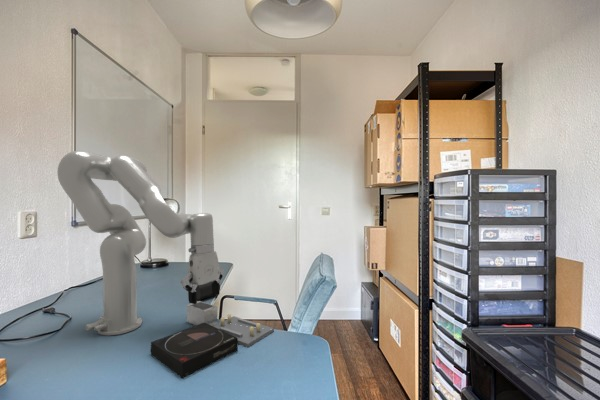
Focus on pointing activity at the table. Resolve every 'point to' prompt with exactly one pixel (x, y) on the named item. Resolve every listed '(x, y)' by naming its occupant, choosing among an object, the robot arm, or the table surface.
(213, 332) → the portable cd player
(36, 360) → the table surface
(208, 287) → the end cap
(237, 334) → the grey pegged fixture plate
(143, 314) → the table surface
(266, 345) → the table surface
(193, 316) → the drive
